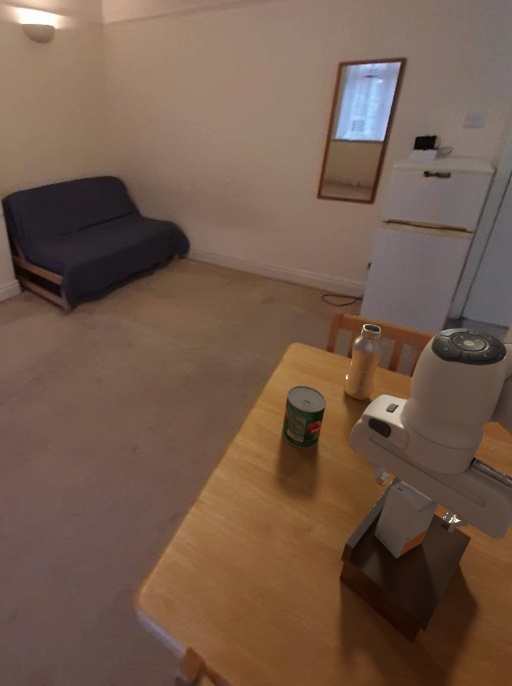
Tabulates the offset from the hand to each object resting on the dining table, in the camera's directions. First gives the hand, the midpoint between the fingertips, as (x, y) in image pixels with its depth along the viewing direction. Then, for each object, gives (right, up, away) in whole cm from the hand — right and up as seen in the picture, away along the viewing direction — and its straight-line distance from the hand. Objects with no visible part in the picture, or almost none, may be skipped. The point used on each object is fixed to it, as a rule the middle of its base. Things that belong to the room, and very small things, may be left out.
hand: (411, 502), depth 61 cm
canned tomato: (-6, -2, +31) cm, 31 cm away
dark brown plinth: (+1, -14, +5) cm, 15 cm away
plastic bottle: (+13, +4, +41) cm, 43 cm away
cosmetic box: (0, -8, +4) cm, 9 cm away
